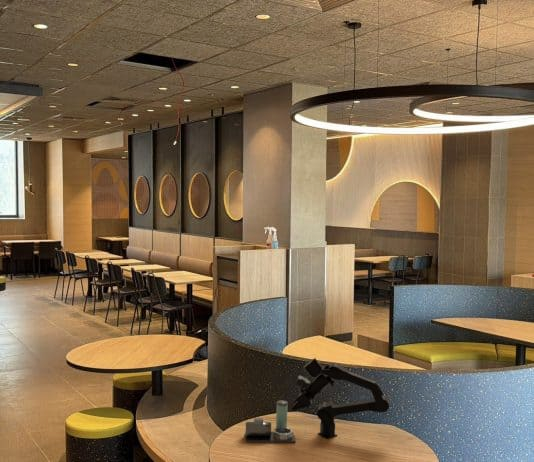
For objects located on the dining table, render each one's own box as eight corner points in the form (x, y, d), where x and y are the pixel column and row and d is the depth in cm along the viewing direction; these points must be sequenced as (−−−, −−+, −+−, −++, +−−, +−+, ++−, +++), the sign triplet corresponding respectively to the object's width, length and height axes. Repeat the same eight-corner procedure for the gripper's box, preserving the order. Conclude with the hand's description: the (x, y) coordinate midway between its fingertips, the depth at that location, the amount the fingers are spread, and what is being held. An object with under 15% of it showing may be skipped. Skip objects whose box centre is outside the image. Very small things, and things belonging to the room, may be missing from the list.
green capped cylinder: (288, 430, 271) (289, 402, 270) (280, 433, 268) (281, 404, 267) (282, 427, 275) (283, 399, 274) (273, 429, 272) (274, 401, 272)
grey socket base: (292, 434, 267) (293, 415, 267) (295, 443, 257) (295, 423, 257) (245, 433, 266) (246, 414, 266) (245, 442, 256) (246, 423, 256)
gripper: (308, 365, 277) (284, 386, 280) (304, 376, 259) (278, 399, 262) (324, 383, 277) (300, 404, 279) (321, 396, 258) (295, 418, 261)
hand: (293, 406), depth 270 cm, fingers open, 9 cm apart
